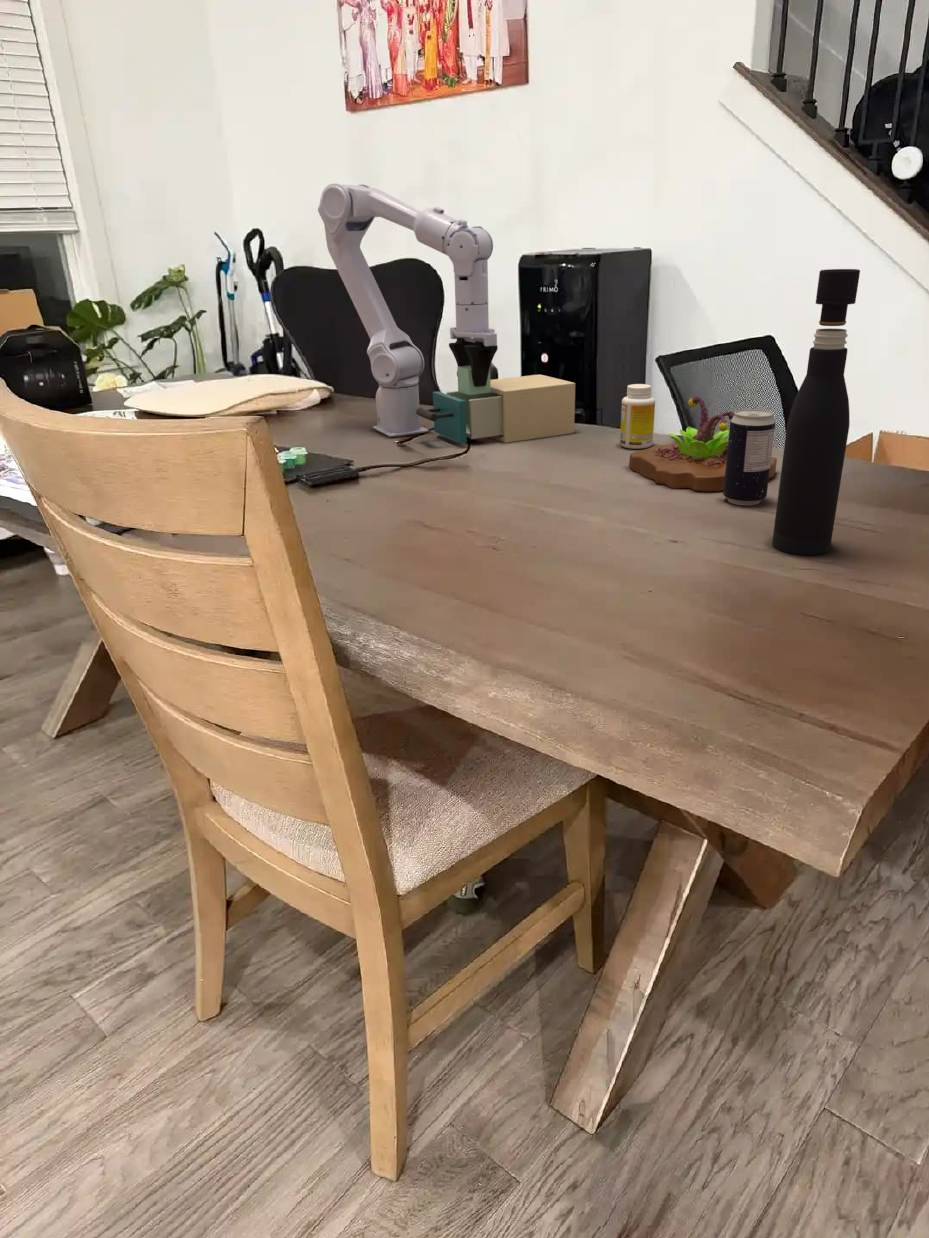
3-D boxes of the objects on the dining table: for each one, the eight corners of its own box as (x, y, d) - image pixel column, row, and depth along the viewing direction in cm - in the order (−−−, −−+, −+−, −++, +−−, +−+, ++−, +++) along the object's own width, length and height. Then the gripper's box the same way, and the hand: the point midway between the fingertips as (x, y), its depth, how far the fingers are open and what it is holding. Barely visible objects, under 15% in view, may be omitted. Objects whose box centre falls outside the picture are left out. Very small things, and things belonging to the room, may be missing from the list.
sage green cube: (458, 391, 153) (457, 366, 151) (479, 389, 155) (479, 364, 153) (468, 395, 149) (468, 369, 148) (490, 392, 151) (490, 367, 149)
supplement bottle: (659, 446, 146) (663, 385, 142) (638, 451, 143) (641, 389, 138) (634, 441, 150) (637, 382, 146) (613, 446, 147) (615, 386, 142)
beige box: (505, 443, 152) (504, 391, 148) (474, 430, 162) (472, 381, 158) (574, 433, 157) (575, 383, 153) (539, 421, 168) (540, 374, 164)
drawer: (437, 446, 147) (435, 404, 144) (412, 434, 156) (409, 394, 153) (527, 434, 154) (527, 393, 150) (498, 423, 163) (497, 384, 160)
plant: (705, 450, 142) (711, 382, 137) (796, 475, 126) (806, 399, 121) (608, 467, 134) (611, 396, 129) (693, 497, 118) (700, 416, 113)
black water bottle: (824, 559, 95) (868, 271, 82) (765, 550, 98) (800, 272, 86) (835, 542, 100) (878, 268, 87) (779, 534, 103) (813, 268, 90)
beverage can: (766, 496, 117) (776, 409, 112) (765, 508, 112) (776, 417, 107) (723, 494, 119) (732, 407, 114) (721, 505, 114) (729, 416, 109)
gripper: (512, 304, 141) (513, 387, 147) (473, 300, 153) (475, 377, 159) (474, 307, 139) (476, 391, 144) (438, 302, 151) (441, 380, 156)
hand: (473, 384), depth 152 cm, fingers closed on sage green cube, 4 cm apart
